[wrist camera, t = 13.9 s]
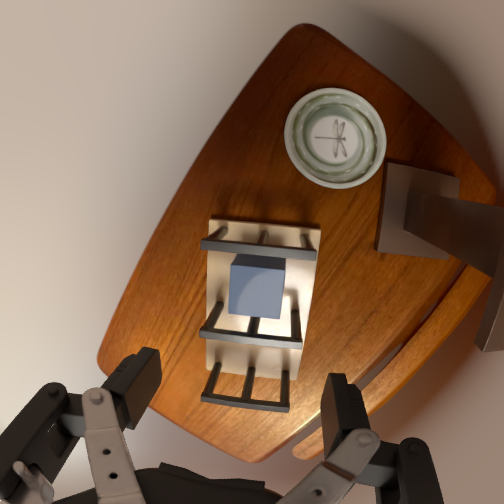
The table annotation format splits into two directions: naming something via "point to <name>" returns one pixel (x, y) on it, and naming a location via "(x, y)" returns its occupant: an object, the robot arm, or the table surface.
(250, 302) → the block
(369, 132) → the saucer
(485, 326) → the stand
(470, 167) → the table surface
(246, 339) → the rack
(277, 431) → the table surface
